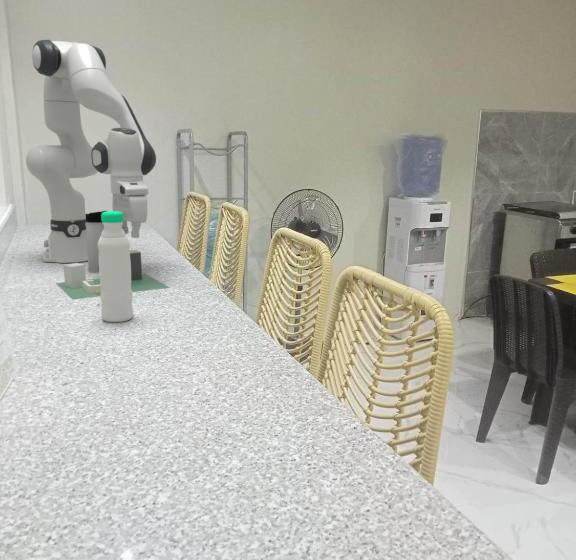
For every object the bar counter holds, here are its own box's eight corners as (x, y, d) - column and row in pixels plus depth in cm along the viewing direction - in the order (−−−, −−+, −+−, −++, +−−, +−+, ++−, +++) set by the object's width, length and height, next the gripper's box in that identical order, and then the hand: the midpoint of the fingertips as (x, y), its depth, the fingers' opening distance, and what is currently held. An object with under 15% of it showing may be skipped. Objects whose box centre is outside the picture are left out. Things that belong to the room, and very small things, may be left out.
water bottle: (139, 316, 135) (134, 211, 129) (121, 324, 129) (116, 214, 123) (114, 313, 137) (108, 209, 132) (95, 321, 131) (88, 212, 125)
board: (56, 287, 161) (55, 276, 160) (145, 277, 175) (145, 267, 174) (72, 303, 144) (72, 291, 144) (170, 291, 158) (169, 280, 158)
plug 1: (63, 285, 158) (62, 264, 157) (77, 283, 161) (75, 262, 160) (72, 288, 155) (70, 266, 153) (86, 286, 158) (84, 264, 156)
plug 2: (119, 278, 168) (118, 250, 166) (136, 276, 171) (135, 249, 169) (125, 281, 164) (123, 253, 162) (141, 279, 167) (140, 251, 165)
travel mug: (104, 277, 173) (101, 212, 169) (85, 276, 174) (80, 211, 170) (114, 273, 179) (111, 209, 175) (95, 272, 180) (92, 209, 176)
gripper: (105, 185, 168) (108, 232, 171) (127, 189, 151) (130, 240, 154) (126, 185, 171) (129, 230, 174) (150, 188, 154) (152, 239, 157)
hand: (130, 235), depth 164 cm, fingers open, 8 cm apart
